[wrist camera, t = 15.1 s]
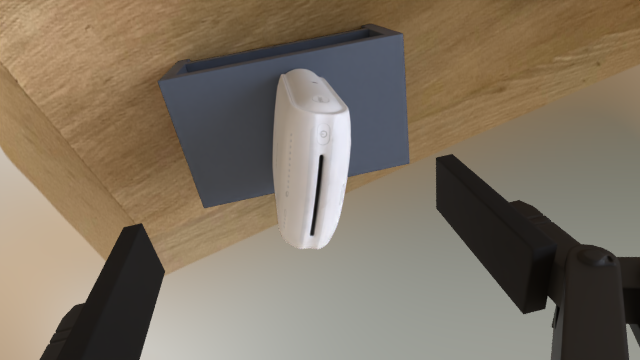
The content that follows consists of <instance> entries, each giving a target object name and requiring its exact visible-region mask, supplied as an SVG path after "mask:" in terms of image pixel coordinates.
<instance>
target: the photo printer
mask: <svg viewBox="0 0 640 360" xmlns="http://www.w3.org/2000/svg"><path fill="white" fill-rule="evenodd" d="M350 148H351V123H350V114H349V109H348V107H347V106H346V104H345V103H344V102H343V101H342V100H341V98H340V97H339V96H338V95H337V93H336V92H335V91H334V90H333V89H332V87H331V86H330V85H329V84H328V82H327V81H326V80H325V79H324V78H323V77H318V76H317V75H316V74H315V73H313V72H312V71H310V70H307V69H294V70H291V71H289V72H287V73H286V74H281V76H280V79H279V83H278V87H277V94H276V104H275V115H274V131H273V179H274V189H275V198H276V207H277V216H278V224H279V229H280V233H281V236H282V238H283V239H284V240H285V241H286V242H287V243H288V244H290V245H291V246H293V247H296V248H299V249H304V248H313V249H320V248H322V247H324V246H325V245H326V244H327V243H328V242H329V240H330V239H331V237H332V235H333V233H334V231H335V229H336V227H337V224H338V221H339V217H340V213H341V208H342V204H343V199H344V194H345V188H346V182H347V175H348V168H349V159H350Z"/></svg>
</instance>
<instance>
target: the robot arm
mask: <svg viewBox="0 0 640 360" xmlns="http://www.w3.org/2000/svg"><path fill="white" fill-rule="evenodd" d="M436 205H437V206H436V207H437V210H438V211H439V212H440V213H441V214H442V216H443V217H444V218H445V219H446V221H447V222H448V223H449V224H450V225H451V227H452V228H453V229H454V230H455V231H456V233H457V234H458V235H459V236H460V238H461V239H462V240H463V241H464V242H465V244H466V245H467V246H468V247H469V249H470V250H471V251H472V252H473V253H474V255H475V256H476V257H477V258H478V259H479V261H480V262H481V263H482V264H483V266H484V267H485V268H486V269H487V270H488V272H489V273H490V274H491V275H492V277H493V278H494V279H495V280H496V281H497V283H498V284H499V285H500V286H501V287H502V289H503V290H504V291H505V292H506V294H507V295H508V296H509V297H510V298H511V300H512V301H513V302H514V303H515V304H516V306H517V307H518V308H519V309H520V311H521V312H522V313H523V314H526V313H530V312H534V311H538V310H542V309H545V307H546V302H547V296H549V297H550V298H551V299H552V300H553V301H554V303H555V304H556V309H555V313H554V318H553V323H552V328H553V340H552V341H553V342H552V353H551V360H629V353H628V344H627V332H626V324H629V325H630V327H631V329H632V331H633V333H634V336H635V338H636V340H637V342H638V344H639V346H640V257H616V256H615V255H613V254H612V253H611V252H609V251H607V250H605V249H603V248H601V247H597V246H594V245H584V244H582V245H581V244H580V243H579V242H577V241H576V240H575V239H574V238H572V237H571V236H570V235H569V234H567V233H566V232H565V231H563V230H562V229H561V228H560V227H558V226H557V225H556V224H555V223H553V222H551V220H550V219H549V218H547V217H546V216H543V214H542V213H541V212H540V211H538V210H537V209H536V208H535V207H533V206H531V205H529V204H527V203H524V202H522V201H520V200H518V201H513V202H508V201H506V200H505V199H504V198H503V197H502V196H501V195H499V194H498V193H497V192H496V191H495V190H494V189H492V188H491V187H490V186H489V185H488V184H487V183H485V182H484V181H483V180H482V179H481V178H480V177H478V176H477V175H476V174H475V173H474V172H473V171H471V170H470V169H469V168H468V167H467V166H466V165H464V164H463V163H462V162H461V161H460V160H459V159H457V158H456V157H455V156H454V155H453V154H451V155H446V156H442V157H437V158H436ZM164 273H165V270H164V268H163V266H162V264H161V262H160V260H159V258H158V256H157V254H156V252H155V250H154V247H153V245H152V243H151V241H150V239H149V237H148V235H147V233H146V231H145V229H144V227H143V225H142V223H141V224H136V225H132V226H127V227H124V228H123V230H122V232H121V234H120V236H119V238H118V239H117V241H116V243H115V245H114V247H113V249H112V251H111V253H110V255H109V257H108V259H107V261H106V263H105V265H104V267H103V269H102V271H101V273H100V275H99V277H98V279H97V281H96V283H95V285H94V287H93V289H92V290H91V292H90V294H89V296H88V298H87V300H86V302H85V303H83V304H79V305H75V306H74V307H73V308H72V309H71V310H70V311H69V312H68V313H67V314H66V315H65V316H64V317H63V318H62V320H61V322H60V324H59V326H58V328H57V330H56V333H55V334H54V335H53V337H52V338H51V340H50V344H49V345H48V346H47V347H46V349H45V351H44V353H43V355H42V357H41V358H40V360H139V359H140V356H141V352H142V349H143V345H144V342H145V339H146V335H147V332H148V328H149V325H150V321H151V318H152V314H153V311H154V308H155V304H156V301H157V297H158V294H159V290H160V287H161V284H162V280H163V277H164Z"/></svg>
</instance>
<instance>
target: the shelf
mask: <svg viewBox="0 0 640 360" xmlns="http://www.w3.org/2000/svg"><path fill="white" fill-rule="evenodd" d="M361 28H362V29H357V30H352V31H347V32H342V33H336V34H331V35H326V36H321V37H316V38H311V39H305V40H300V41H295V42H290V43H285V44H279V45H274V46H269V47H264V48H259V49H253V50H248V51H243V52H238V53H233V54H227V55H222V56H217V57H212V58H207V59H201V60H196V61H191V62H190V59H186V60H181V61H177V62H176V64H175V65H174V66H173V67H172V68H171V69H170V70H169V71H168V72H167V73H166V74H165V75H164V76H163V77H162V78H161V79H160V80H159V81H158V84H159V87H160V89H161V92H162V95H163V98H164V100H165V103H166V106H167V108H168V111H169V114H170V117H171V119H172V122H173V125H174V128H175V130H176V133H177V136H178V138H179V141H180V144H181V147H182V149H183V152H184V155H185V158H186V160H187V163H188V166H189V169H190V171H191V174H192V177H193V179H194V182H195V185H196V188H197V190H198V193H199V196H200V199H201V201H202V204H203V207H204V208H208V207H213V206H217V205H222V204H226V203H231V202H236V201H240V200H245V199H249V198H254V197H258V196H263V195H268V194H272V193H275V189H274V179H273V131H274V115H275V104H276V94H277V87H278V83H279V79H280V76H281V74H286V73H287V72H289V71H291V70H294V69H307V70H310V71H312V72H313V73H315V74H316V75H317V76H318V77H323V78H324V79H325V80H326V81H327V82H328V84H329V85H330V86H331V87H332V89H333V90H334V91H335V92H336V93H337V95H338V96H339V97H340V98H341V100H342V101H343V102H344V103H345V104H346V106H347V107H348V109H349V114H350V123H351V148H350V159H349V168H348V175H347V177H350V176H355V175H359V174H364V173H368V172H373V171H377V170H382V169H387V168H391V167H396V166H400V165H405V164H409V144H408V124H407V103H406V83H405V63H404V42H403V33H400V32H396V31H393V30H390V29H387V28H384V27H380V26H377V25H374V24H368V25H363V26H361Z"/></svg>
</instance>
